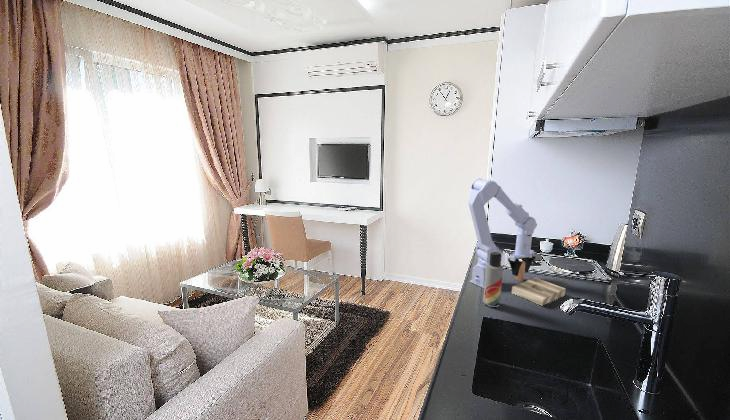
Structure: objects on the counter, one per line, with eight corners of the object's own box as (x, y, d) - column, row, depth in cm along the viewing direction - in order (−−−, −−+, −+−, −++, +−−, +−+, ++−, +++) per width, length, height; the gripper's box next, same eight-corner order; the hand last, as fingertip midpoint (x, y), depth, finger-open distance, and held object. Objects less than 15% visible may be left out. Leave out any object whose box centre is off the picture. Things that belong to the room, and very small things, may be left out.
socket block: (542, 306, 113) (543, 299, 112) (511, 293, 123) (512, 286, 122) (564, 295, 121) (565, 288, 121) (534, 284, 131) (535, 277, 131)
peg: (520, 281, 134) (522, 264, 132) (513, 279, 136) (515, 261, 135) (525, 280, 135) (527, 262, 134) (518, 277, 138) (520, 260, 136)
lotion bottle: (496, 310, 111) (501, 256, 107) (480, 304, 114) (484, 253, 110) (501, 304, 115) (506, 252, 111) (486, 299, 119) (490, 249, 115)
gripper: (522, 248, 125) (519, 280, 128) (542, 242, 133) (538, 272, 136) (506, 244, 131) (503, 274, 134) (526, 238, 139) (523, 267, 141)
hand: (520, 273), depth 135 cm, fingers open, 7 cm apart
